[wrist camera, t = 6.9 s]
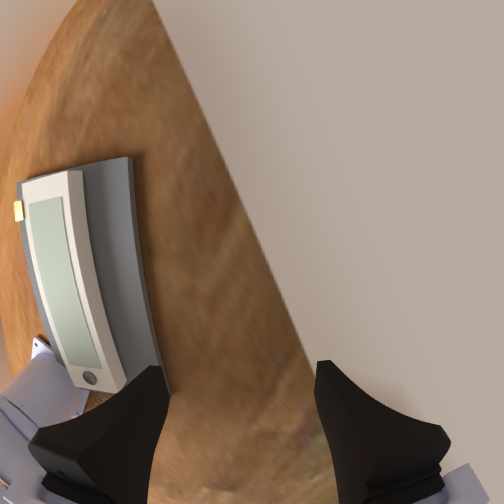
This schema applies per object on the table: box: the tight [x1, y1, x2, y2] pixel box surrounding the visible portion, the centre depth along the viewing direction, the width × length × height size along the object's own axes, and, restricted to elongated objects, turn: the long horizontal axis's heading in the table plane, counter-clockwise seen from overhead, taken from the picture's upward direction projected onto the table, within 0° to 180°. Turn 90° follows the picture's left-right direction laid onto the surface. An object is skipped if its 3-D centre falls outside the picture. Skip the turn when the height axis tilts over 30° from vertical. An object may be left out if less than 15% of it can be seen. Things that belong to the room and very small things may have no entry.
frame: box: [22, 171, 127, 393], centre depth 18 cm, size 18×5×2 cm, turn 4°
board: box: [14, 156, 171, 397], centre depth 19 cm, size 21×12×4 cm, turn 3°
